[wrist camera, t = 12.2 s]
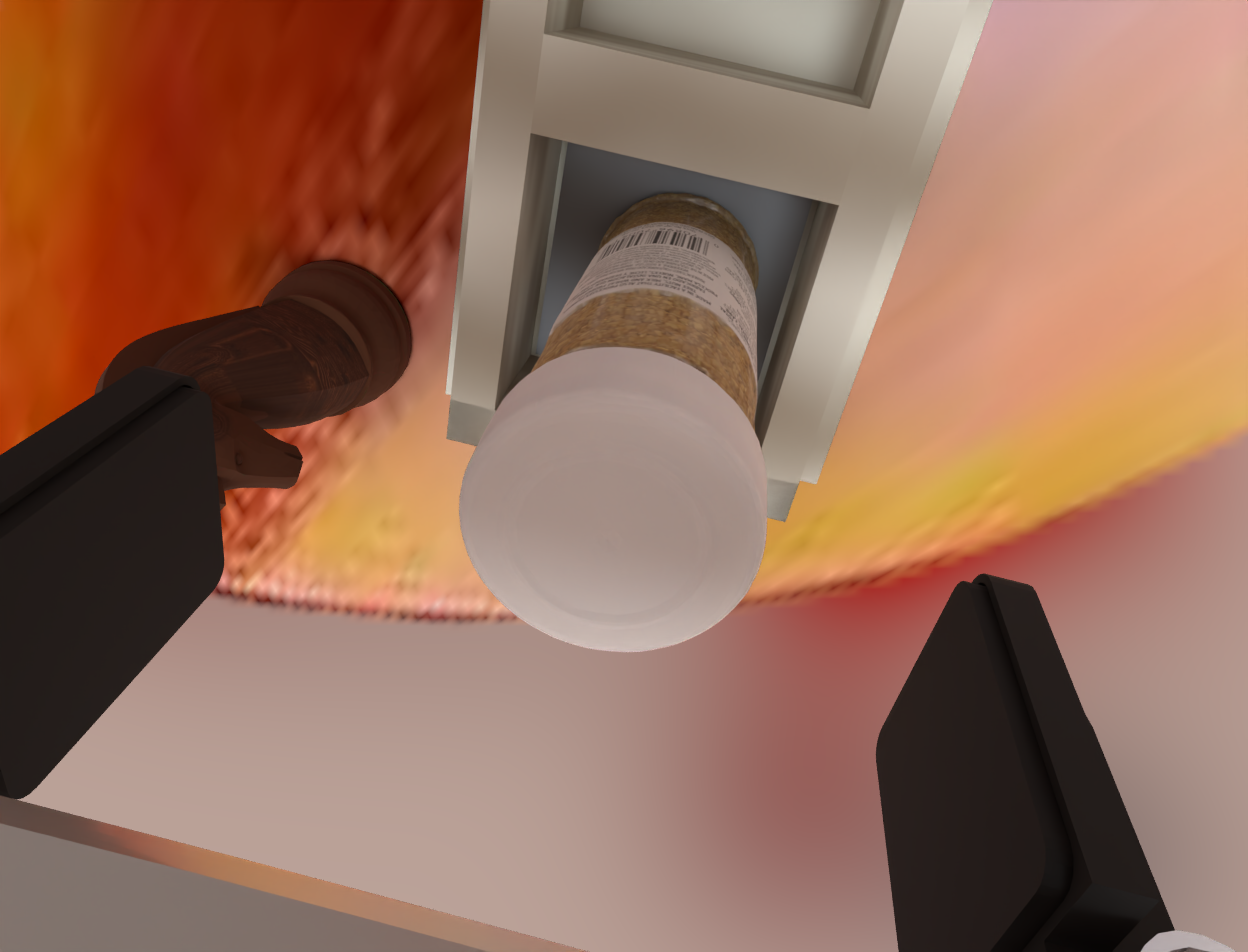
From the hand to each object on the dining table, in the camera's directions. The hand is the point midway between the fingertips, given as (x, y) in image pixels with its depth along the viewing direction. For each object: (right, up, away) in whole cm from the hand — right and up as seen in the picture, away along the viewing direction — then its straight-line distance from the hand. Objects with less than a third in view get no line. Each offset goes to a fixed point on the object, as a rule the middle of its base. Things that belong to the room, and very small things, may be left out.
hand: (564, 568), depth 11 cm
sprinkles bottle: (+2, +7, +13) cm, 15 cm away
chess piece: (-8, +6, +17) cm, 20 cm away
